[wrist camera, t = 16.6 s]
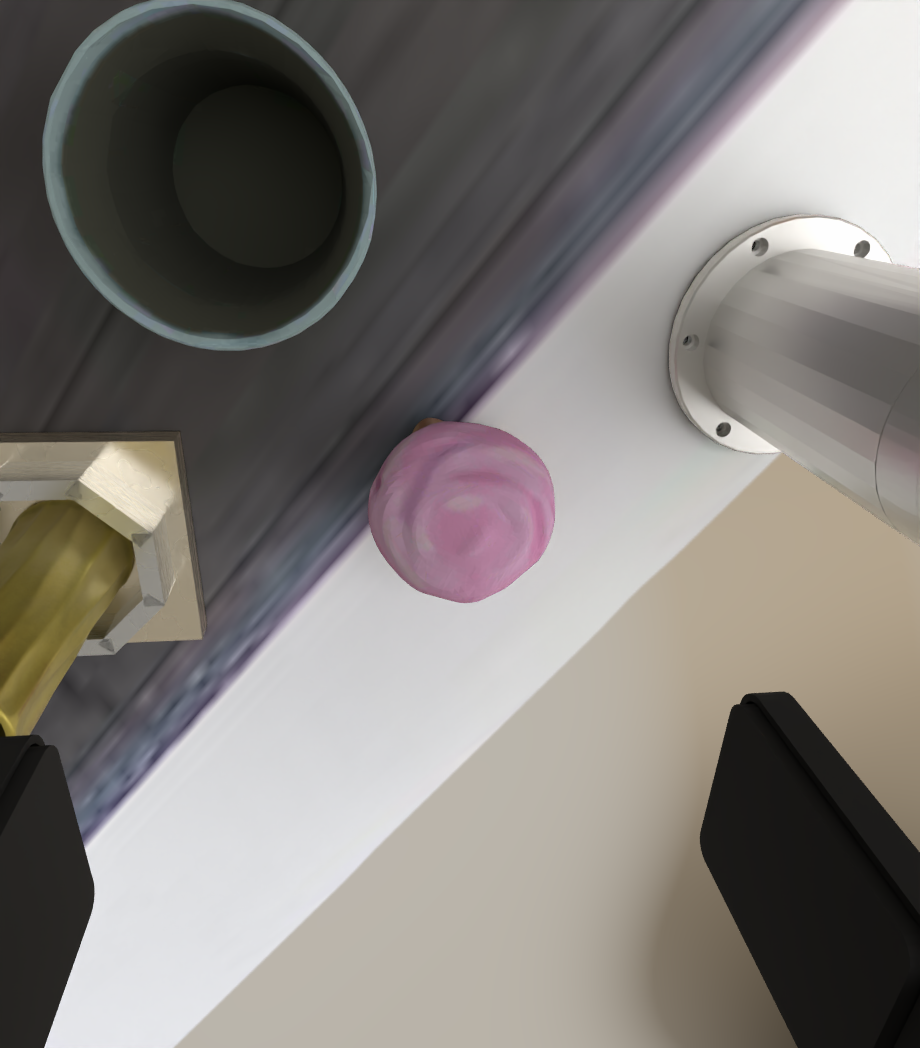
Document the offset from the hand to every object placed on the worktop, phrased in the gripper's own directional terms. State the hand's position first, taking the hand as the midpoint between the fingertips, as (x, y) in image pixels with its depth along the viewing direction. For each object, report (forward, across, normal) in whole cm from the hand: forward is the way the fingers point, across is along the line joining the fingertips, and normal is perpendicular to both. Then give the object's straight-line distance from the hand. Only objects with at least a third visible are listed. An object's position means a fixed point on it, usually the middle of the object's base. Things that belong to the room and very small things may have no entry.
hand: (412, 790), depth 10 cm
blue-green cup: (+31, +5, -7) cm, 32 cm away
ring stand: (+30, +16, +11) cm, 36 cm away
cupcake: (+31, -4, +7) cm, 32 cm away
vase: (+29, +16, +11) cm, 35 cm away
